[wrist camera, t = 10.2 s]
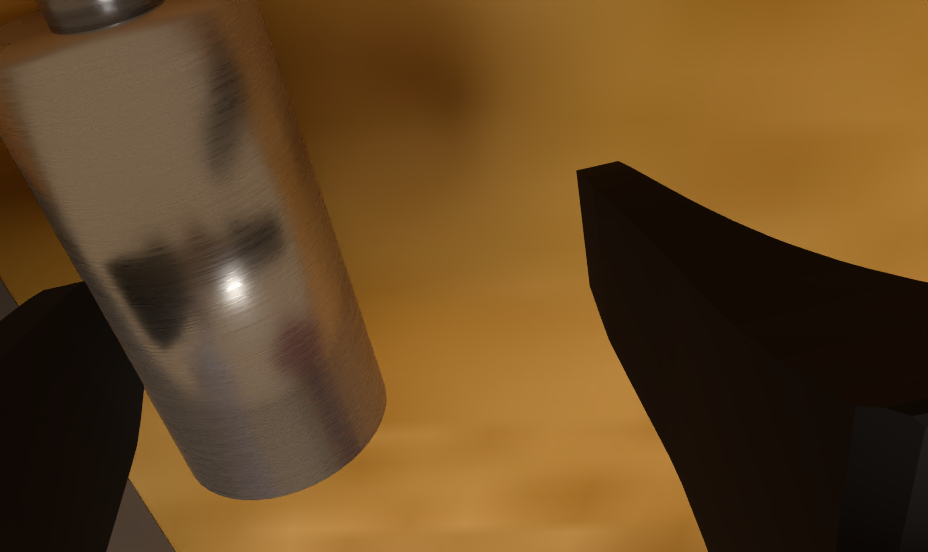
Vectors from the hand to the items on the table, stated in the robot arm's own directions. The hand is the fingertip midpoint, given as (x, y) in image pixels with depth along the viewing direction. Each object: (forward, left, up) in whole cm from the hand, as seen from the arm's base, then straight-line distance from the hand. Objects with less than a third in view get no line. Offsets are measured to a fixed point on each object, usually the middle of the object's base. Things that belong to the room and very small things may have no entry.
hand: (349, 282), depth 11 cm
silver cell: (0, +1, -3) cm, 3 cm away
